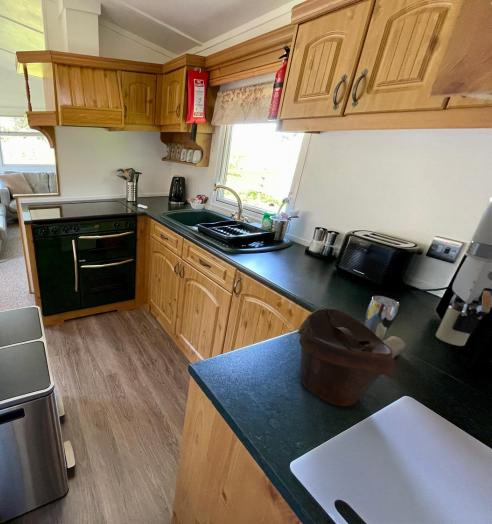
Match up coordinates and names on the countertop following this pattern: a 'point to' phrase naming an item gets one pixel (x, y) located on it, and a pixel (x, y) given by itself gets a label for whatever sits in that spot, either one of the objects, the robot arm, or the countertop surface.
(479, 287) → the robot arm
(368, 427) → the countertop surface
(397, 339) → the salt shaker
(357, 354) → the brown lidded pot
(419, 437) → the countertop surface
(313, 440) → the countertop surface
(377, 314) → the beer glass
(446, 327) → the pepper shaker
